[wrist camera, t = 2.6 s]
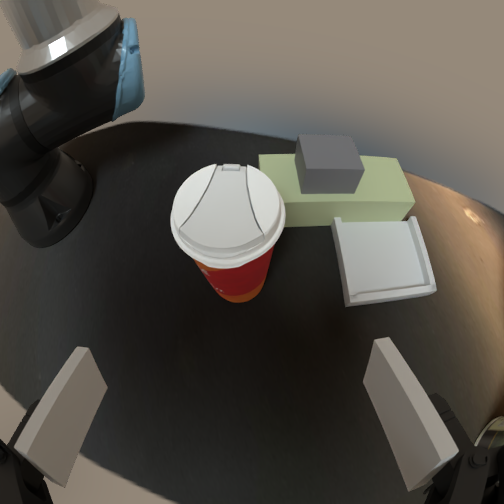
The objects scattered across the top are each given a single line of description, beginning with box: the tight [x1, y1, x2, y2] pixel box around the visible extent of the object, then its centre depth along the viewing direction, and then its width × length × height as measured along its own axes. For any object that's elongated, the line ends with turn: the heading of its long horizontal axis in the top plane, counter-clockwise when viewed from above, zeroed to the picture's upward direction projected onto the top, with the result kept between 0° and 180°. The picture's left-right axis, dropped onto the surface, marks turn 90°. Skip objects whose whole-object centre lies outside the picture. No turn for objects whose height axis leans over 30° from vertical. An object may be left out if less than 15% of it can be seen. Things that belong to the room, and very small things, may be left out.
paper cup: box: [171, 164, 286, 303], centre depth 23 cm, size 8×8×14 cm
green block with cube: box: [259, 134, 437, 307], centre depth 27 cm, size 20×17×9 cm
